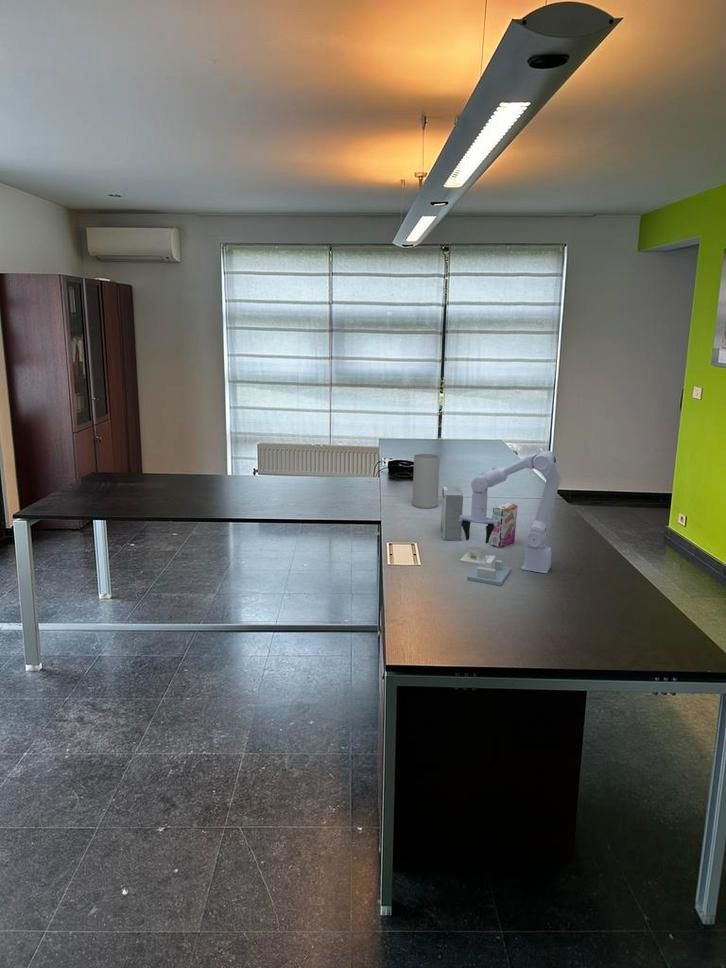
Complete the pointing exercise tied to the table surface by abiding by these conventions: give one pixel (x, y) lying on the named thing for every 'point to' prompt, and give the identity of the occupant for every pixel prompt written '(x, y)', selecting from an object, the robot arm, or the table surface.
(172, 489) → the table surface
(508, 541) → the candy bar box
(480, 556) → the grey notched block
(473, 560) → the cream mat
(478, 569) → the bench vise
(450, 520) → the hard drive box
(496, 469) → the robot arm
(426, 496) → the cylinder vase
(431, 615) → the table surface
